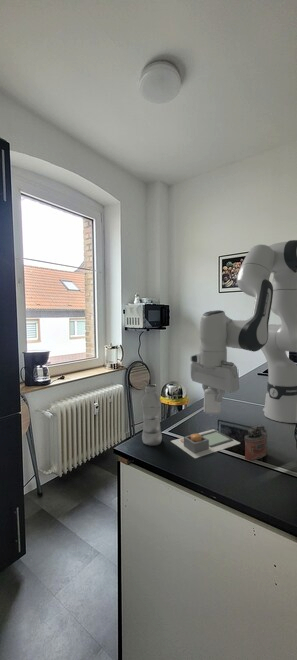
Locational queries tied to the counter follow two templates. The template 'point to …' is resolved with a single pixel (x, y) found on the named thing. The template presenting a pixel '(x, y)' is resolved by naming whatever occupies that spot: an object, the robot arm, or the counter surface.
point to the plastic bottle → (151, 416)
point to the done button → (196, 437)
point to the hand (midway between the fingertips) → (213, 399)
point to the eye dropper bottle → (211, 401)
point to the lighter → (255, 443)
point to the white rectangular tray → (205, 443)
